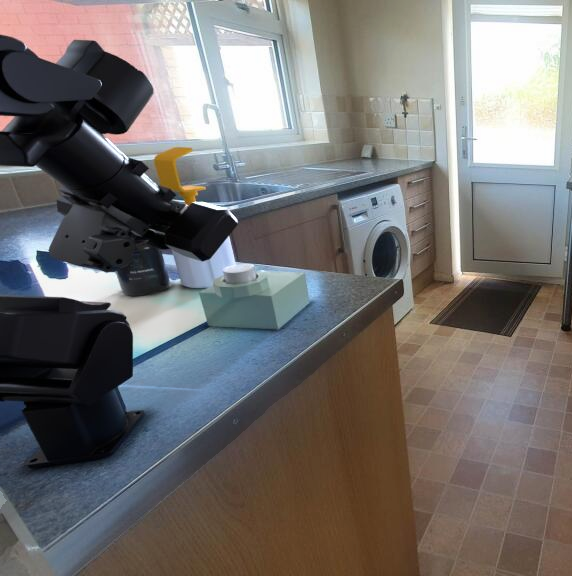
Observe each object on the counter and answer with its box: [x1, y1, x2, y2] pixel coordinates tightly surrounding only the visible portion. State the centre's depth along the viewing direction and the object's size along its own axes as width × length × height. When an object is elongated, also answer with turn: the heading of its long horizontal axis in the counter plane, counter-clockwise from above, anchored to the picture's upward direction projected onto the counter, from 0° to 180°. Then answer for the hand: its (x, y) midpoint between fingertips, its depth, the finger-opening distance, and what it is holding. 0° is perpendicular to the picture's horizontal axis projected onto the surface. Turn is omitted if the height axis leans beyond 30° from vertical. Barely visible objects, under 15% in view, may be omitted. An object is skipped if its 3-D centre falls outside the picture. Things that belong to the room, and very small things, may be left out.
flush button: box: [223, 263, 257, 284], centre depth 62 cm, size 4×4×2 cm
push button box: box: [198, 269, 311, 330], centre depth 65 cm, size 11×11×8 cm
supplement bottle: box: [114, 240, 171, 297], centre depth 72 cm, size 7×7×12 cm
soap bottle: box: [153, 146, 237, 289], centre depth 75 cm, size 9×9×25 cm
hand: (197, 255), depth 54 cm, fingers closed
